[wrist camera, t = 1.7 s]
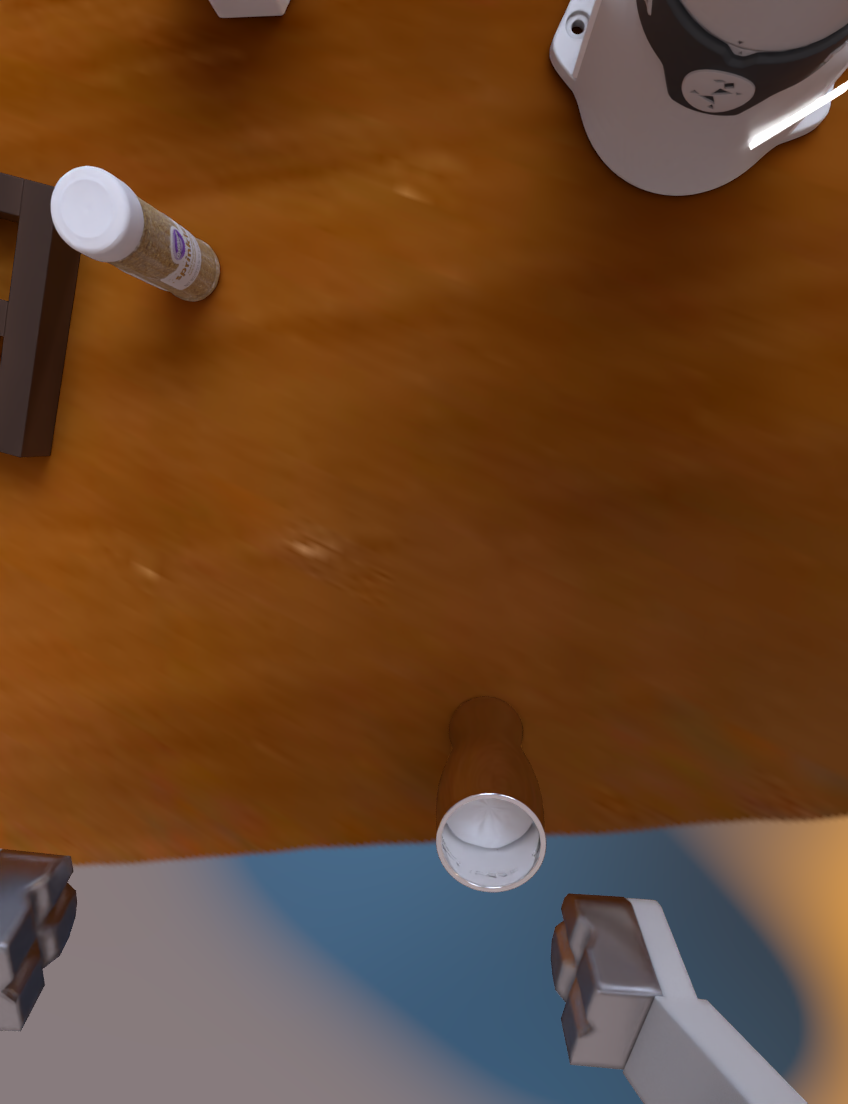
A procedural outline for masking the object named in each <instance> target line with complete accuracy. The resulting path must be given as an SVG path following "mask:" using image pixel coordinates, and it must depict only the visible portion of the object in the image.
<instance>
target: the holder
mask: <svg viewBox="0 0 848 1104" xmlns="http://www.w3.org/2000/svg"><path fill="white" fill-rule="evenodd" d="M54 188H55V187H53V186H49V185H46V184H42V183H38V182H34V181H31V180H27V179H23V178H19V177H15V176H12V175H8V174H4V173H0V218H2V219H6V220H10V221H13V222H17V223H19V226H18V234H17V241H16V249H15V257H14V264H13V272H12V280H11V287H10V295H9V301H5V300H2V299H0V336H3V337H4V341H3V348H2V356H1V364H0V452H3V453H6V454H10V455H14V456H17V457H36V456H50V453H51V446H52V440H53V433H54V426H55V419H56V413H57V406H58V399H59V393H60V386H61V379H62V373H63V366H64V359H65V353H66V346H67V339H68V333H69V326H70V319H71V313H72V306H73V299H74V292H75V286H76V279H77V272H78V266H79V259H80V252H78V251H76V250H75V249H73V248H71V247H70V246H69V245H68V244H67V243H66V242H65V241H64V240H63V239H62V238H61V237H60V235H59V234H58V232H57V230H56V228H55V226H54V224H53V220H52V216H51V197H52V193H53V191H54Z"/></svg>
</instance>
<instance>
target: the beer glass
mask: <svg viewBox="0 0 848 1104" xmlns="http://www.w3.org/2000/svg"><path fill="white" fill-rule="evenodd" d="M449 738H450V742H451V746H452V751H451V753H450V755H449V757H448V759H447V761H446V764H445V766H444V768H443V771H442V774H441V777H440V781H439V785H438V791H437V798H436V847H437V852H438V856H439V858H440V860H441V863H442V864H443V866H444V868H445V869H446V870H447V872H449V874H450V875H451V876H452V877H453V878H454V879H456V880H457V881H459V882H460V883H461V884H463V885H465V886H467V887H469V888H472V889H475V890H478V891H483V892H502V891H507V890H511V889H514V888H516V887H518V886H520V885H522V884H524V883H525V882H527V881H528V880H529V879H530V878H532V876H533V875H534V874H535V873H536V872H537V871H538V869H539V868H540V866H541V864H542V862H543V859H544V856H545V852H546V836H545V821H544V808H543V801H542V795H541V791H540V787H539V783H538V780H537V777H536V775H535V773H534V770H533V768H532V766H531V764H530V762H529V760H528V758H527V757H526V755H525V753H524V751H523V750H522V748H521V744H522V740H523V724H522V721H521V718H520V716H519V715H518V713H517V712H516V710H515V709H514V708H513V707H512V706H511V705H509V704H508V703H507V702H505V701H503V700H501V699H498V698H495V697H489V696H482V697H476V698H473V699H470V700H468V701H466V702H465V703H463V704H462V705H461V706H459V707H458V709H457V710H456V711H455V712H454V714H453V716H452V718H451V721H450V724H449Z"/></svg>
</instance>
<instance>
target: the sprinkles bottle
mask: <svg viewBox="0 0 848 1104" xmlns="http://www.w3.org/2000/svg"><path fill="white" fill-rule="evenodd" d="M51 216H52V220H53V224H54V226H55V228H56V230H57V232H58V234H59V235H60V237H61V238H62V239H63V240H64V241H65V242H66V243H67V244H68V245H69V246H70V247H71V248H73V249H75V250H76V251H78V252H80V253H82V254H84V255H86V256H88V257H90V258H92V259H95V260H97V261H101V262H108V263H110V264H112V265H114V266H116V267H117V268H119V269H120V270H122V271H123V272H125V273H127V274H130V275H132V276H134V277H136V278H138V279H140V280H142V281H144V282H147V283H149V284H151V285H153V286H155V287H158V288H160V289H162V290H165V291H169V292H171V293H172V294H173V295H175V296H176V297H179V298H180V299H182V300H186V301H193V302H195V301H199V300H202V299H204V298H206V297H207V296H208V295H209V294H211V293H212V291H213V290H214V289H215V288H216V286H217V283H218V280H219V275H220V265H219V262H218V258H217V256H216V254H215V253H214V251H213V250H212V248H211V247H210V246H209V245H208V244H207V243H205V242H204V241H202V240H200V239H198V238H195V237H194V236H193V235H192V234H191V233H190V232H189V231H187V230H186V229H185V228H183V227H182V226H180V225H179V224H178V223H176V222H175V221H173V220H172V219H171V218H169V217H168V216H166V215H165V214H163V213H161V212H159V211H158V210H156V209H155V208H154V207H152V206H151V205H150V204H148V203H146V202H145V201H143V200H142V199H140V198H139V197H138V196H136V195H135V193H134V192H133V191H132V190H131V189H130V188H129V187H128V186H127V185H126V184H125V183H123V182H122V181H121V180H119V179H118V178H116V177H115V176H113V175H112V174H110V173H109V172H107V171H105V170H103V169H101V168H97V167H92V166H83V167H78V168H75V169H72V170H70V171H69V172H67V173H66V174H65V175H63V176H62V177H61V179H60V180H59V181H58V183H57V184H56V186H55V188H54V191H53V193H52V197H51Z"/></svg>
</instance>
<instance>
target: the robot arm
mask: <svg viewBox="0 0 848 1104" xmlns="http://www.w3.org/2000/svg"><path fill="white" fill-rule="evenodd" d="M576 26H577V27H580V28H581V29H582V31H583V32H582V33H581V34H578V35H577V34H574V33H573V32H572V30H571V29H572V28H573V27H576ZM550 60H551V62H552V65H553V67H554V68H555V70H556V71H557V73H558V74H559V76H560V77H561V78H562V79H563V81H564V82H565V83H566V84H567V86H568V87H569V88H570V89H571V90H572V92H573V94H574V96H575V98H576V101H577V104H578V107H579V111H580V115H581V118H582V122H583V125H584V128H585V131H586V133H587V136H588V138H589V140H590V142H591V144H592V146H593V148H594V149H595V151H596V152H597V154H598V155H599V157H600V158H601V159H602V161H603V162H604V163H605V164H606V165H607V166H608V167H609V168H610V169H611V170H612V171H613V172H614V173H615V174H617V175H618V176H619V177H621V178H622V179H623V180H625V181H626V182H628V183H630V184H632V185H634V186H636V187H638V188H640V189H643V190H645V191H649V192H652V193H656V194H662V195H671V196H684V195H693V194H698V193H702V192H706V191H709V190H712V189H715V188H718V187H720V186H722V185H725V184H726V183H728V182H730V181H732V180H734V179H735V178H737V177H739V176H740V175H741V174H743V173H744V172H746V171H747V170H748V169H749V168H751V167H752V166H753V165H754V164H755V163H756V162H757V161H759V160H760V159H761V158H762V157H763V156H764V155H765V154H766V153H767V152H769V151H770V150H771V149H773V148H774V147H776V146H777V145H779V144H782V143H785V142H787V141H790V140H793V139H796V138H798V137H800V136H803V135H805V134H807V133H809V132H811V131H812V130H814V129H815V128H816V127H817V126H818V125H819V124H820V123H821V122H822V120H823V119H824V118H825V117H826V115H827V114H828V112H829V109H830V105H831V100H832V99H834V98H836V97H837V96H839V95H840V94H842V93H844V92H845V91H846V90H847V89H848V81H847V82H846V83H844V84H843V85H841V86H839V87H838V88H836V89H835V90H833V87H834V83H835V81H836V80H837V79H838V78H839V77H840V76H841V74H842V73H843V72H844V71H845V70H846V68H847V67H848V0H571V1H570V3H569V5H568V7H567V9H566V12H565V14H564V16H563V18H562V20H561V22H560V25H559V27H558V29H557V31H556V33H555V36H554V38H553V41H552V43H551V46H550ZM72 873H73V866H72V861H71V856H64V855H55V854H45V853H36V852H26V851H17V850H8V849H0V1031H21V1030H22V1028H23V1026H24V1024H25V1022H26V1020H27V1018H28V1016H29V1014H30V1012H31V1011H32V1008H33V1007H34V1005H35V1003H36V1001H37V999H38V997H39V995H40V993H41V991H42V989H43V987H44V986H45V984H44V977H43V970H42V969H43V968H45V967H46V966H47V965H48V964H50V963H51V962H52V961H54V960H55V959H56V958H58V957H59V956H60V954H61V952H62V950H63V948H64V946H65V944H66V942H67V940H68V938H69V936H70V932H71V929H72V926H73V923H74V919H75V916H76V907H77V897H76V890H74V889H73V888H72V887H71V886H70V885H69V884H68V883H67V882H68V880H69V878H70V876H71V874H72ZM561 910H562V914H563V919H564V921H563V922H561V923H560V924H558V925H557V926H556V927H555V931H554V935H553V938H552V948H551V965H552V975H553V980H554V986H555V990H556V991H557V992H558V994H559V995H560V996H561V997H562V998H563V1000H564V1001H565V1002H566V1005H565V1008H564V1011H563V1014H562V1017H561V1021H562V1026H563V1031H564V1036H565V1041H566V1045H567V1051H568V1056H569V1060H570V1064H571V1065H581V1066H591V1067H602V1068H613V1069H624V1071H623V1074H624V1075H625V1076H626V1078H627V1080H628V1081H629V1083H630V1084H631V1085H632V1087H633V1088H634V1090H635V1091H636V1093H637V1094H638V1096H639V1097H640V1099H641V1100H642V1102H643V1103H644V1104H808V1103H807V1102H806V1101H805V1100H804V1099H803V1098H802V1097H801V1096H800V1095H799V1094H798V1093H797V1092H796V1091H795V1090H794V1089H793V1088H792V1087H791V1086H790V1085H789V1084H788V1083H787V1082H786V1081H785V1080H784V1079H783V1078H782V1076H780V1074H779V1073H778V1072H777V1071H776V1070H775V1069H774V1068H773V1067H772V1066H771V1065H770V1064H769V1063H768V1062H767V1061H766V1060H765V1059H764V1058H763V1057H762V1056H761V1055H760V1054H759V1053H758V1052H757V1051H756V1050H755V1049H754V1048H753V1047H752V1046H751V1045H750V1044H749V1043H748V1042H747V1041H746V1040H745V1039H744V1038H743V1037H742V1036H741V1034H740V1033H738V1031H737V1030H735V1028H734V1027H733V1026H732V1025H731V1024H730V1023H729V1022H728V1021H727V1020H726V1019H725V1018H724V1017H723V1016H722V1015H721V1014H720V1013H719V1012H718V1011H717V1010H716V1009H715V1008H714V1007H713V1006H712V1005H711V1004H710V1003H709V1002H708V1001H707V1000H703V999H698V998H697V996H696V993H695V991H694V988H693V986H692V983H691V981H690V978H689V976H688V973H687V971H686V968H685V966H684V963H683V960H682V958H681V955H680V953H679V950H678V948H677V945H676V943H675V940H674V938H673V935H672V933H671V930H670V928H669V925H668V923H667V920H666V918H665V915H664V912H663V910H662V907H661V906H660V905H659V903H658V902H657V901H655V900H646V899H633V898H624V897H615V896H599V895H582V894H568V895H567V896H566V897H565V898H564V901H563V904H562V908H561Z"/></svg>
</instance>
